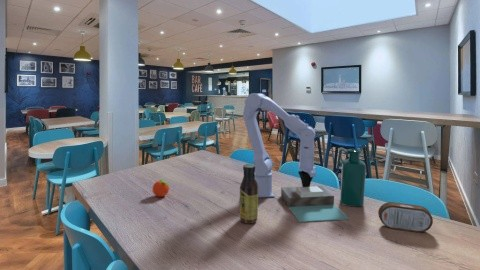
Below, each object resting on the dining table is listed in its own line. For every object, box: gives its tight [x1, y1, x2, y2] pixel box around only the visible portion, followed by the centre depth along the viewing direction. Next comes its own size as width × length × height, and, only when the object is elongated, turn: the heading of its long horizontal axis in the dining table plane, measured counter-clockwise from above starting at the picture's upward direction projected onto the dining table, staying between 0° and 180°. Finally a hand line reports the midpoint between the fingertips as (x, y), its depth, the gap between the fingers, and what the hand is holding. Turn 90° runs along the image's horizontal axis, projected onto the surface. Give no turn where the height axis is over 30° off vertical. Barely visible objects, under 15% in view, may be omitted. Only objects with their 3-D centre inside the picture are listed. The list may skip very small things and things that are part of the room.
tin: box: [377, 201, 434, 233], centre depth 86 cm, size 15×3×8 cm, turn 70°
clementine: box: [152, 179, 170, 197], centre depth 116 cm, size 8×7×7 cm
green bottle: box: [339, 146, 367, 208], centre depth 107 cm, size 10×8×22 cm
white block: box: [295, 185, 323, 197], centre depth 107 cm, size 9×6×2 cm, turn 97°
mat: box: [288, 204, 350, 223], centre depth 99 cm, size 18×12×1 cm, turn 96°
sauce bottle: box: [239, 163, 259, 224], centre depth 92 cm, size 7×6×20 cm
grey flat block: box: [280, 185, 335, 208], centre depth 110 cm, size 18×12×4 cm, turn 96°
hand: (305, 188), depth 111 cm, fingers closed
